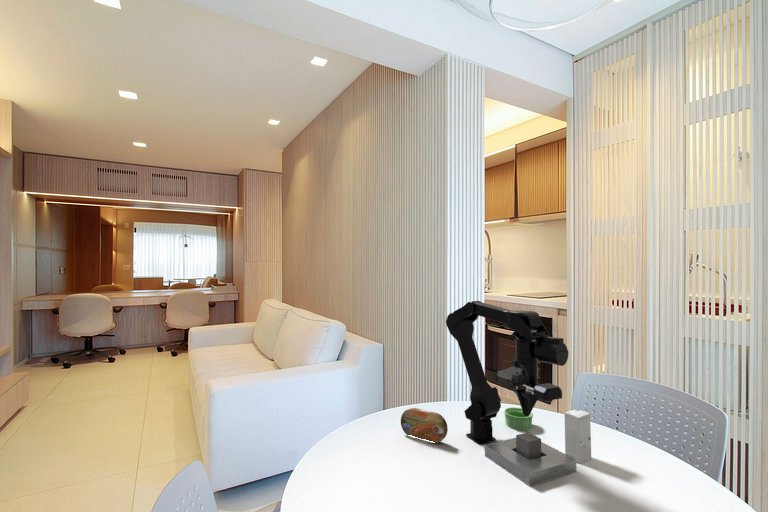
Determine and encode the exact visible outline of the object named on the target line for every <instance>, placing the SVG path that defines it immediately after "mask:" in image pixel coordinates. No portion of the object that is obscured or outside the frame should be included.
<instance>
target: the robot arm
mask: <svg viewBox="0 0 768 512" xmlns="http://www.w3.org/2000/svg"><path fill="white" fill-rule="evenodd" d="M479 317H482V318H485V319H487V320H488V319H489V320H491V321H495V322H498V323H501V324H504V325H505V326H506V327H507V328H508V329H509V330H512V331H513V332H512V333H510V335H508V339H509V340H514V341H515V359H512V360H511V363H510V367H507V368H505V369H501V370H497V372H496V373H495V381H496V382H498V383H499V386H500V387H501V388H506V389H507V390H509V391H513V393H515V395H516V396H517V399H518V401H519V404H520V408H522V411H523V414H524V416H529V415H530V413H531V412H532V411H533V409H534V407H535V405H536V403H537V401H538V400H539V399H540V400H541V401H546V402H549V401H550V402H551V401H554V400H560V399H561V400H562V399H563V390H562V388H561V387H560V386H558V385H555V384H553V383H549V382H546V383H542V377H540V376H539V367H542V362H543V363H546V364H550V365H556V366H559V367H564V366H565V365H566V364H567V362H568V359H569V350H568V347H567V345H566V343H564V338H563V337H554V336H553V337H552V336H551V334H550V333H549V331H548V330H547V328H546V326H545V325H544V323H543V321H542V318H541V316H540V314H539V313H538V312H537V311H533V310H519V309H518V310H515V309H514V310H513V309H508V308H503V307H502V306H501V307H500V306H498V305H493V304H490V303H485V302H483V301H481V300H470V301H468V302H466V303H465V304H464V305H463V306H461V307H459V308H458V309H455V310H454V311H453V312H451V313H449V314H448V315H447V317H446V319H445V324H446V327H447V329H448V332H449V334H450V335H451V336H452V337H453V338H454V339H455V341H456V342H457V345H458V347H459V350H460V354H461V357H462V360H463V363H464V366H465V370H466V373H467V376H468V380H469V382H470V385H471V389H470V395H469V398H470V399H469V400H470V405H469V406H468V407H467V408H466V409H465V410H464V414H465V416H464V417H465V418H466V419H467V420H469V421H470V425H469V426H470V432H469V433H468V432H467V433H466V434H465V435H466V436H465V437H467V438H469V439H470V440H472V441H473V442H475V443H477V444H478V445H483V444H489V443H493V442H497V437H496V438H495V437H494V436H493V420H492V419H493V418H497V415H498V413H499V412H500V410H501V408H502V405H501V403H502V402H501V401H502V398H501V397H500V395H499V391H498V388H497V386H493V387H492V386H491V385H490V383H489V382H488V381H487V377H486V374H485V371H484V368H483V366H482V363H481V359H480V357H479V353H478V350H477V347H476V344H475V341H474V339H473V337H474V331H475V326H474V322H476V321H477V320H478V318H479ZM539 383H541V384H539Z"/></svg>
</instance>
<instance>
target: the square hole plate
mask: <svg viewBox="0 0 768 512" xmlns="http://www.w3.org/2000/svg"><path fill="white" fill-rule="evenodd" d="M484 457H486V458H487V459H489V460H490V461H492V462H493V463H494V464H496V465H498V466H500V468H502V469H504V470H505V471H506V472H507V473H508V474H511V475H512V476H514V477H515V478H516V479H518V480H520V481H521V482H522V483H524V484H525V485H526V486H528V487H533V486H536V485H540V484H542V483H546V482H548V481H553V480H555V479H559V478H562V477H565V476H567V475H568V476H569V475H572V474H575V473H577V472H578V471H577V462H576V460H575V459H573V458H572V457H570V456H568V455H566V454H565V452H564V453H563V452H562V451H560V450H558V449H557V448H554V447H553V446H551V445H548V444H547V443H545V442H543V441H541V457H539V458H535V459H531V460H528V459H526V458H525V457H523V456H521V455H520V454H518V453H517V452H516V437H513V438H508V439H504V440H499V441H494V442H489V443H485V444H484Z"/></svg>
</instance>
